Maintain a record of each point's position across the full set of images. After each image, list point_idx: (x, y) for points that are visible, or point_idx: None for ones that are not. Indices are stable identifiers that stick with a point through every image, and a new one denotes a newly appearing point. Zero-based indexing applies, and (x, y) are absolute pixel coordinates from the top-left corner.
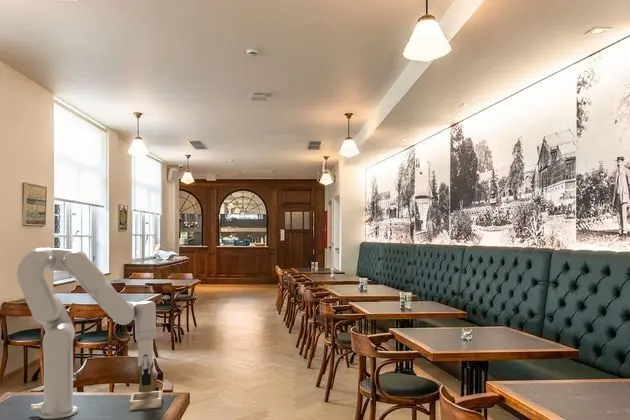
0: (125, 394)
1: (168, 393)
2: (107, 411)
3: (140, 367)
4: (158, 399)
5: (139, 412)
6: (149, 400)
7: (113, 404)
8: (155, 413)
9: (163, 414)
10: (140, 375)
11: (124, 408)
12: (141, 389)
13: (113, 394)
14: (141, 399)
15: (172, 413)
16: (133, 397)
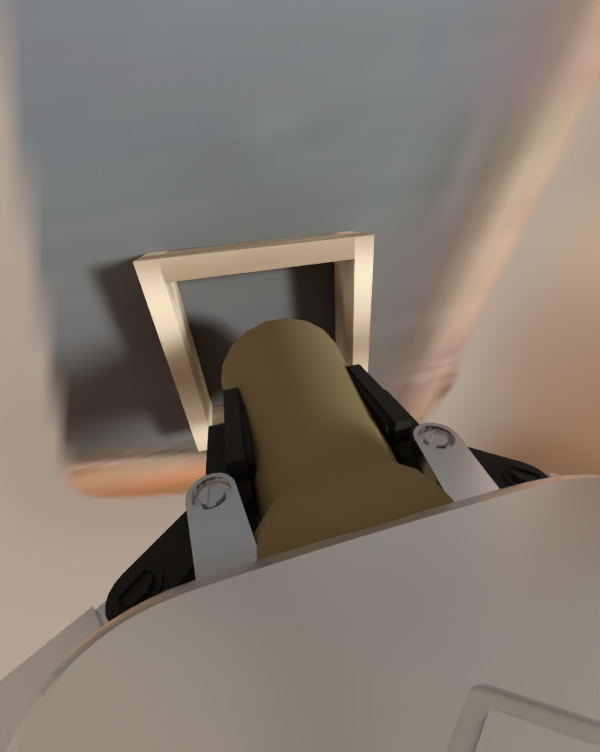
0: (525, 151)
1: (421, 399)
2: (103, 32)
3: (286, 527)
4: (194, 438)
5: (92, 331)
6: (179, 394)
7: (313, 75)
8: (79, 422)
9: (64, 461)
10: (298, 412)
11: (190, 202)
12: (232, 362)
13: (580, 34)
14: (339, 297)
15: (87, 491)
16: (254, 270)
